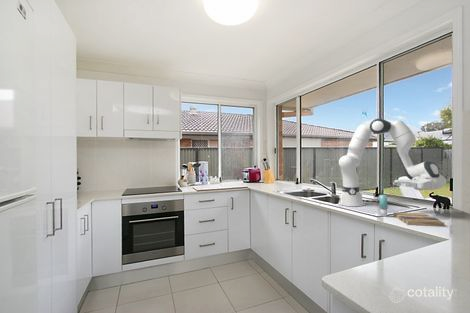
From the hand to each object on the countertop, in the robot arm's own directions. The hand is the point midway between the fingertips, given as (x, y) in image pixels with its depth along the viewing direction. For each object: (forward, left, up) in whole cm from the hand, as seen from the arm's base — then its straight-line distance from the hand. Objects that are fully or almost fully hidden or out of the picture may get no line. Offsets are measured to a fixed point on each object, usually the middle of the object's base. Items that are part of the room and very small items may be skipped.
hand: (400, 184), depth 139 cm
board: (+12, +3, -19) cm, 23 cm away
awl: (+5, -11, -19) cm, 23 cm away
